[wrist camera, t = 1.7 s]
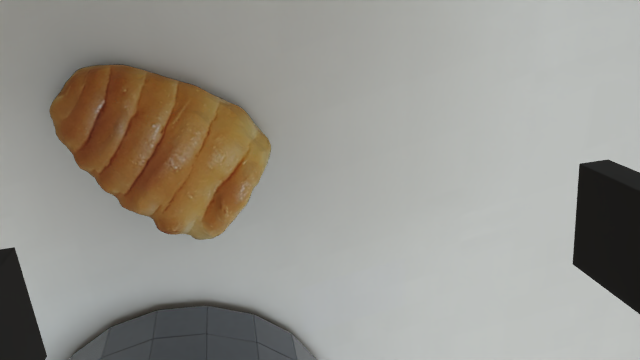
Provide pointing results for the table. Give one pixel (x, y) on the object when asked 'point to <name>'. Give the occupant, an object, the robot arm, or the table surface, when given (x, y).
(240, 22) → the table surface
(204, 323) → the bowl
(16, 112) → the table surface
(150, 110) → the pastry
